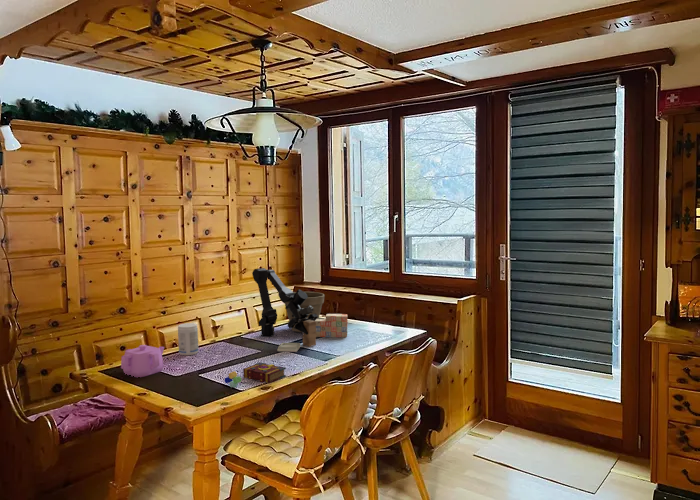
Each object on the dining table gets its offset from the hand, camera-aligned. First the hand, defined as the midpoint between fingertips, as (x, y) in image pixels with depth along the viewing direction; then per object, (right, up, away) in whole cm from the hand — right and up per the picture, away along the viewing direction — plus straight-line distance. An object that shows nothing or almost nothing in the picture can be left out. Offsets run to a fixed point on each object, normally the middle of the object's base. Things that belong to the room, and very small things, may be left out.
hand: (311, 333), depth 289 cm
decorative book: (-17, -12, -53) cm, 56 cm away
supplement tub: (-61, -8, -15) cm, 64 cm away
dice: (-28, -12, -65) cm, 71 cm away
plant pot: (-7, -4, +37) cm, 38 cm away
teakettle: (-73, -11, -44) cm, 86 cm away
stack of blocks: (+9, -5, +23) cm, 25 cm away
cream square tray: (-11, -7, -6) cm, 15 cm away
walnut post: (-1, -7, +1) cm, 7 cm away
